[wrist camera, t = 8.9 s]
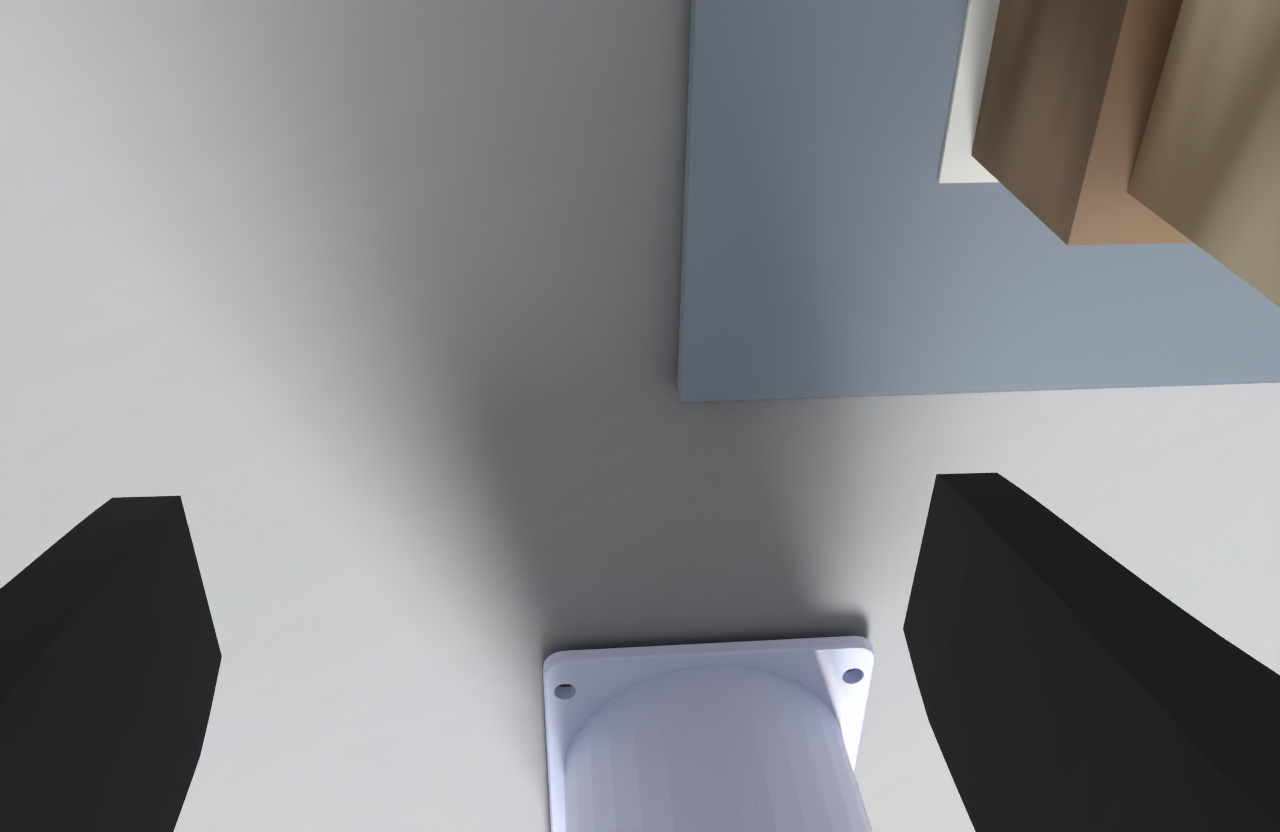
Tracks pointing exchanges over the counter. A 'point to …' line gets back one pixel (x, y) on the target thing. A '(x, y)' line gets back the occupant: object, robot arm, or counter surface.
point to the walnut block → (1076, 112)
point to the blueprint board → (907, 229)
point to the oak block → (1219, 137)
